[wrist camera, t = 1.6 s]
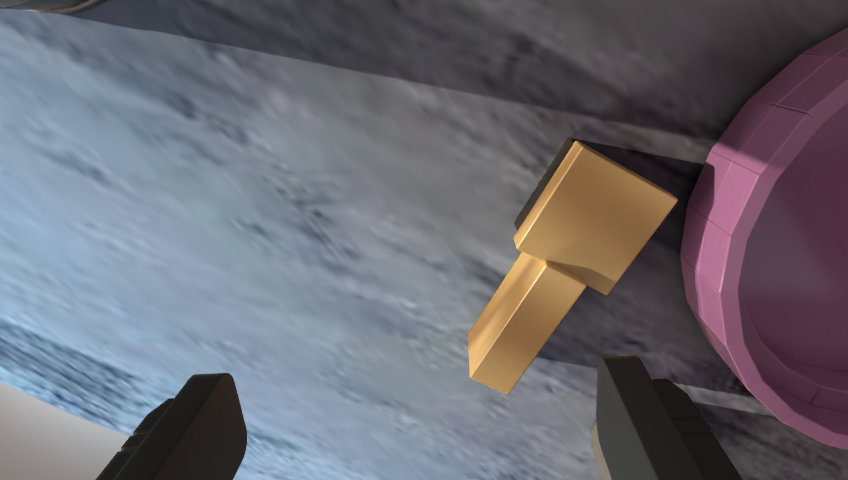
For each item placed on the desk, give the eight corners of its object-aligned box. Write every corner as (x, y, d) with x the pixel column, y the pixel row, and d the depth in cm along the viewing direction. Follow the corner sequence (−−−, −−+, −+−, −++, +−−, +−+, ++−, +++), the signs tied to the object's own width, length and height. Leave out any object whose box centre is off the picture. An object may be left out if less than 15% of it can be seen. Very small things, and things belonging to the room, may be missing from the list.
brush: (522, 361, 31) (531, 407, 27) (445, 324, 30) (444, 365, 27) (652, 179, 27) (685, 204, 23) (566, 131, 26) (585, 148, 22)
